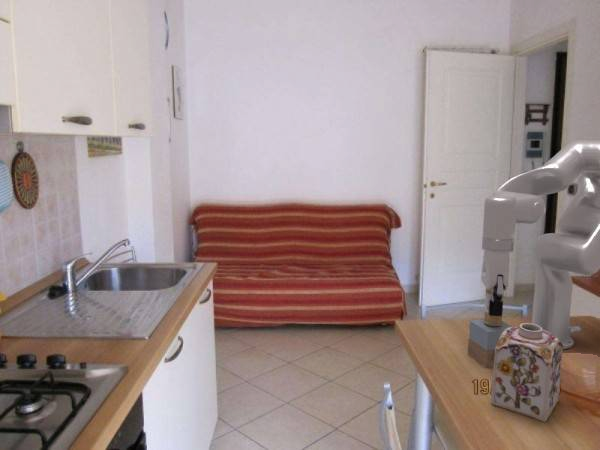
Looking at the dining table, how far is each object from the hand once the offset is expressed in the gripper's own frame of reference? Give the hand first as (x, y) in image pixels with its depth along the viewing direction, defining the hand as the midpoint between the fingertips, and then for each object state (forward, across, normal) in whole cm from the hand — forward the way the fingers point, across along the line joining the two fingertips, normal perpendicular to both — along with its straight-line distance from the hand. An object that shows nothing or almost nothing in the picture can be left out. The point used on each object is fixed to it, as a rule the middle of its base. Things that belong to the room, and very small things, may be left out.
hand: (493, 311), depth 130 cm
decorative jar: (+14, +21, +3) cm, 26 cm away
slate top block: (+9, 0, 0) cm, 9 cm away
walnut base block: (+14, 0, 0) cm, 14 cm away
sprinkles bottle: (+4, 0, 0) cm, 4 cm away
